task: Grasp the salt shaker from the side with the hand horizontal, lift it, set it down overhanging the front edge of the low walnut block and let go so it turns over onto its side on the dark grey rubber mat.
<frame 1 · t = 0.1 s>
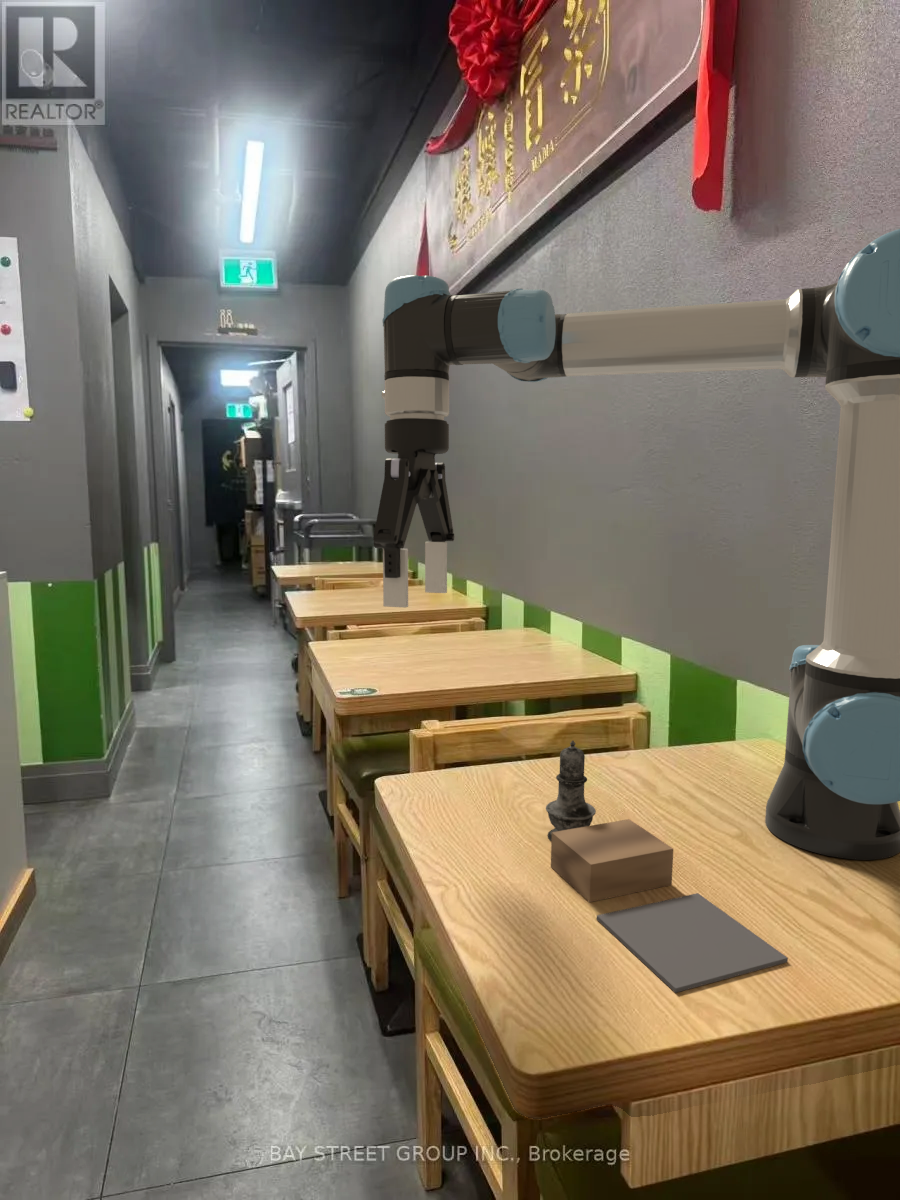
hand: (417, 599, 94), 28 cm above the table, tool pointing down, fingers open, 13 cm apart
ledge block: (609, 875, 84), on the table
mat: (687, 939, 72), on the table
salt shaker: (569, 839, 94), on the table
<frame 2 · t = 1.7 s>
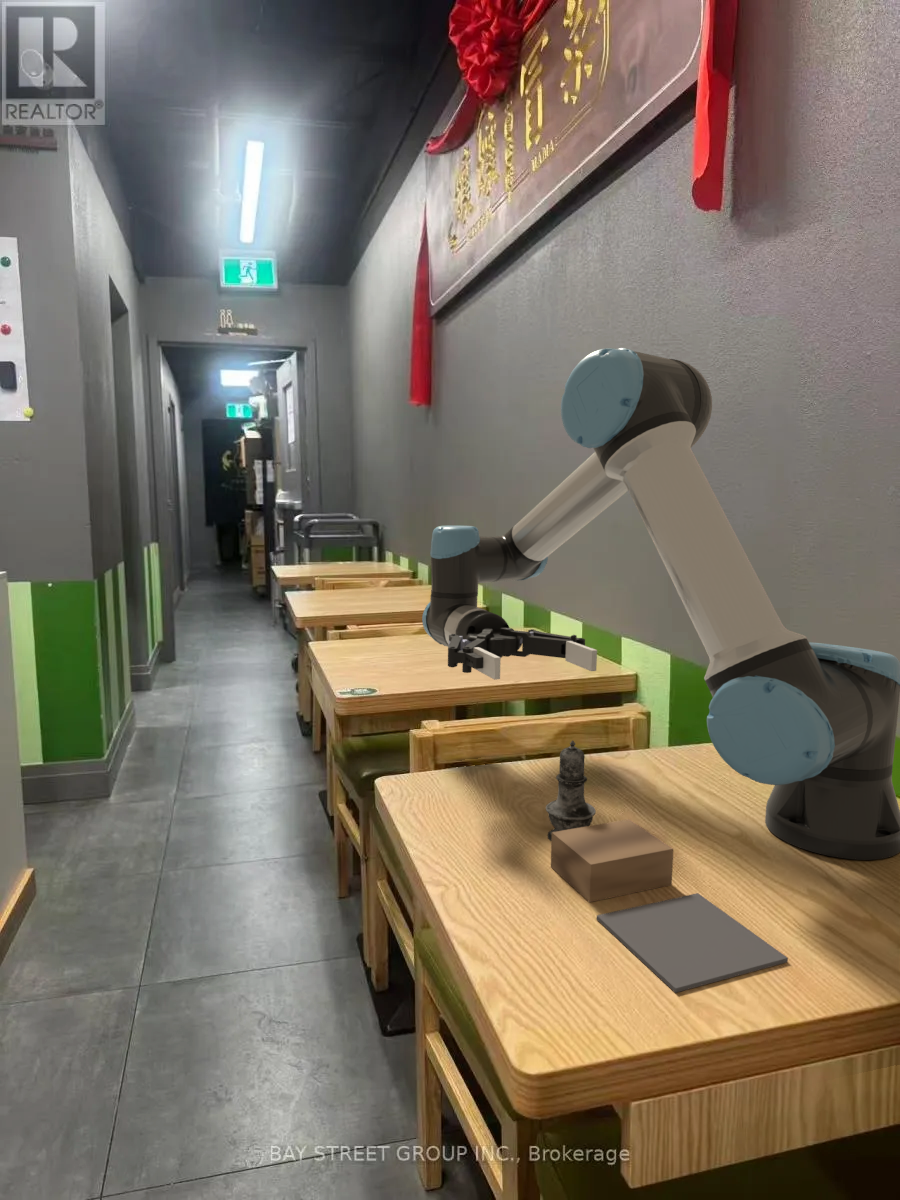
hand: (547, 664, 97), 20 cm above the table, tool horizontal, fingers open, 13 cm apart
nothing on the table moved.
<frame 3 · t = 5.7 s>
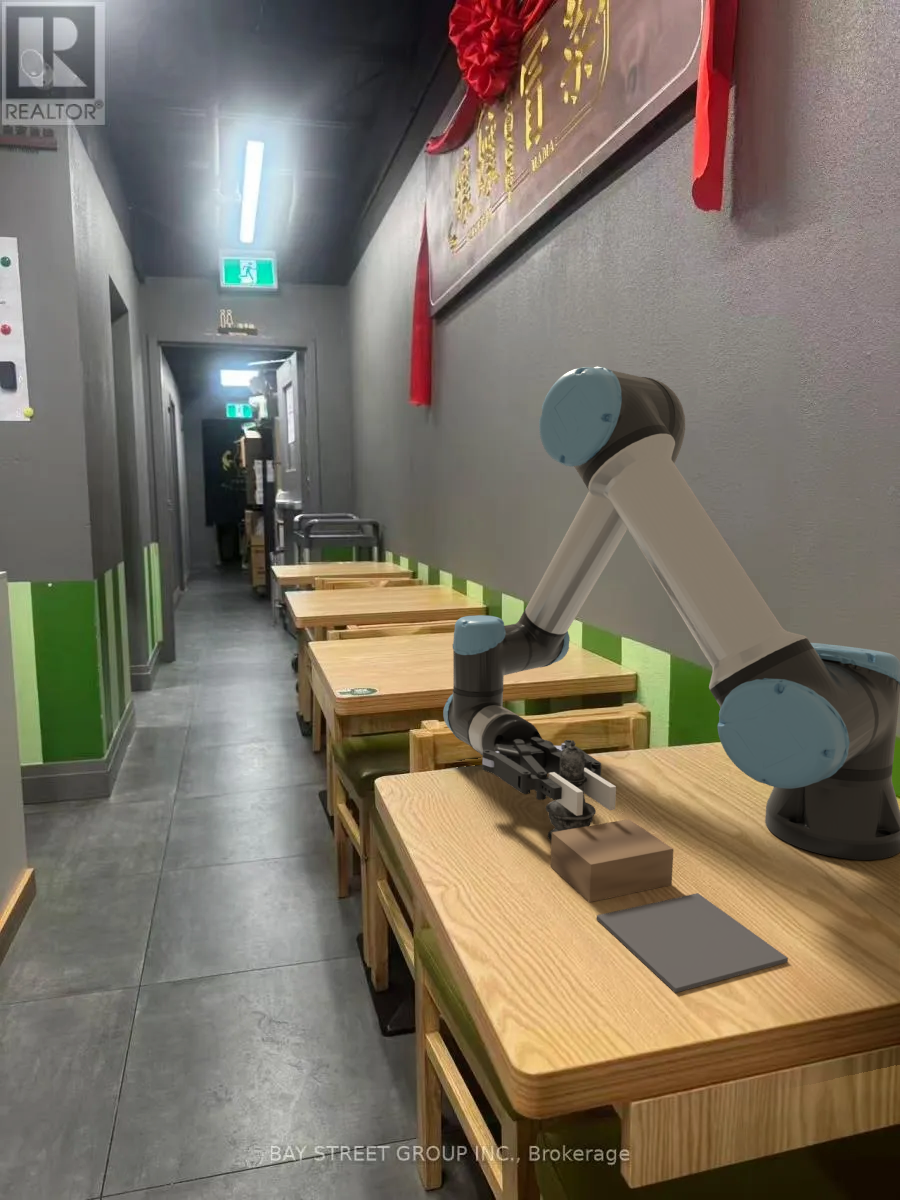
hand: (596, 800, 88), 7 cm above the table, tool horizontal, fingers closed on salt shaker, 4 cm apart
salt shaker: (569, 838, 94), on the table, touching gripper
when the fingers open (11 cm above the table, at t = 10.1 s): salt shaker moves 2 cm, resting on mat.
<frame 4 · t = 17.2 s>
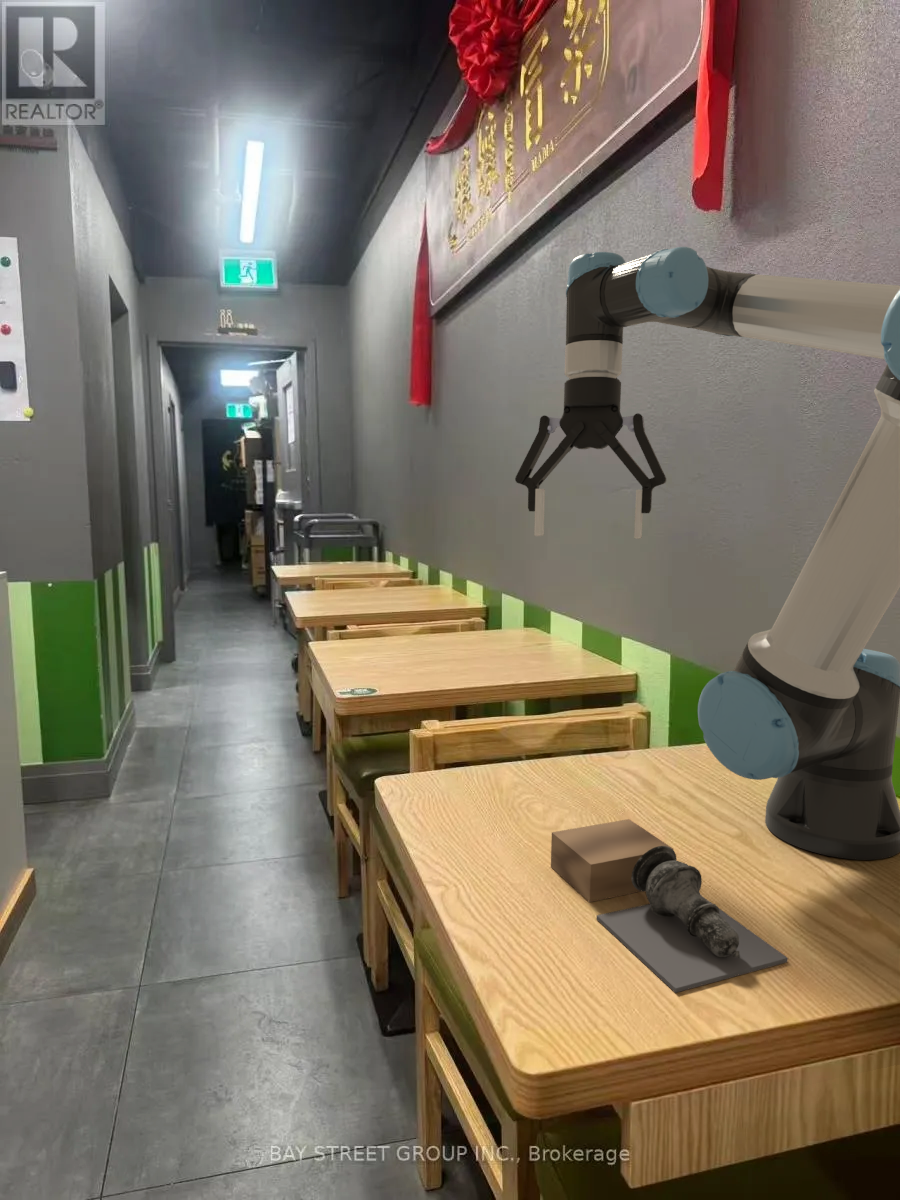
hand: (587, 537, 108), 35 cm above the table, tool pointing down, fingers open, 13 cm apart
salt shaker: (652, 867, 78), point 4 cm above the table, touching mat
at the end: salt shaker tilted 103°; salt shaker 6.2 cm from the mat (horizontally); the gripper is holding nothing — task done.
